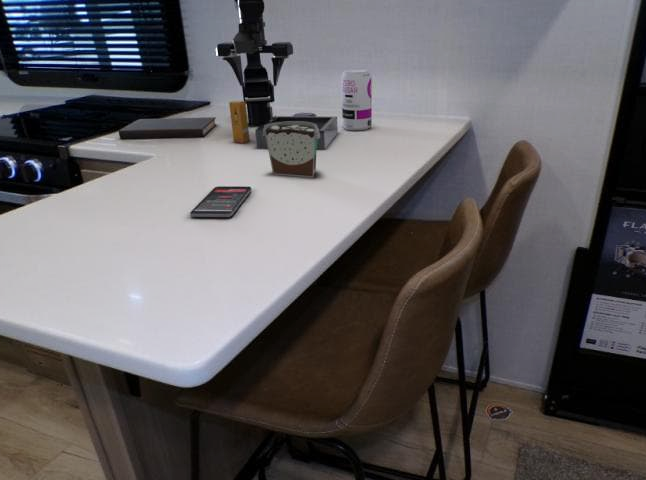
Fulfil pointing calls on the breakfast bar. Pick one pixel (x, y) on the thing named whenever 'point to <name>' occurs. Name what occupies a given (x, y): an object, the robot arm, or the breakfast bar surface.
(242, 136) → the supplement box
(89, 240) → the breakfast bar surface
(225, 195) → the smartphone
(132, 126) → the hardcover book
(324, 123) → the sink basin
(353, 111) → the supplement can
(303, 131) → the food container
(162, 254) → the breakfast bar surface
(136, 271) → the breakfast bar surface
